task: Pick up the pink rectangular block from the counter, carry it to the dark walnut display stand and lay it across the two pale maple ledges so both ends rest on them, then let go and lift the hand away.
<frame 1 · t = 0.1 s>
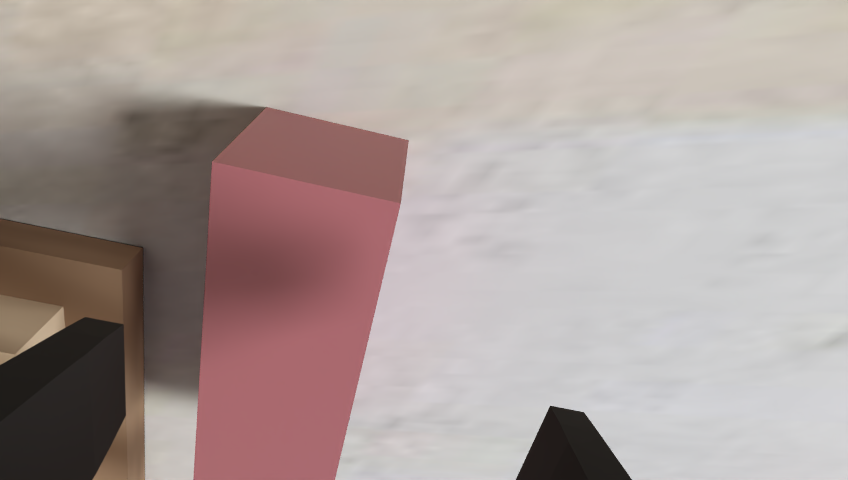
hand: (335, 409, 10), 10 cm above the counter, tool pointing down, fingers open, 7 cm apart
pink rectangular block: (313, 278, 20), on the counter
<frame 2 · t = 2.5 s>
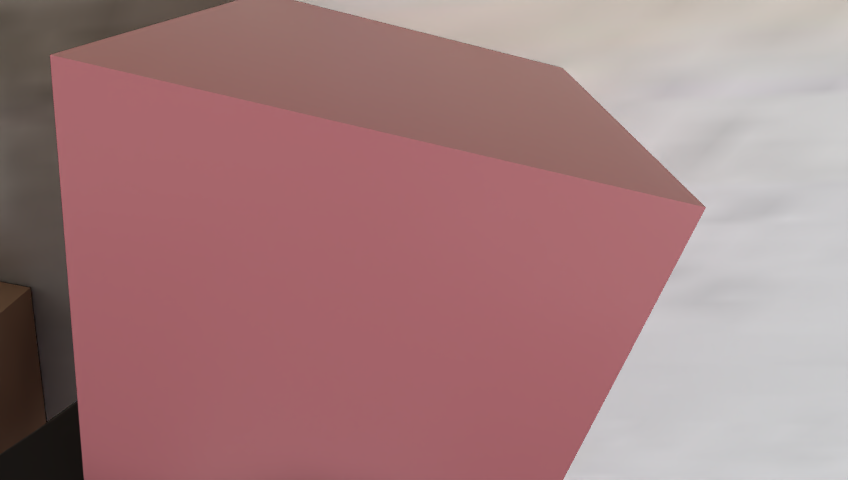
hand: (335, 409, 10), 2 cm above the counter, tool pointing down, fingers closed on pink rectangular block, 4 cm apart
pink rectangular block: (348, 346, 11), on the counter, touching gripper
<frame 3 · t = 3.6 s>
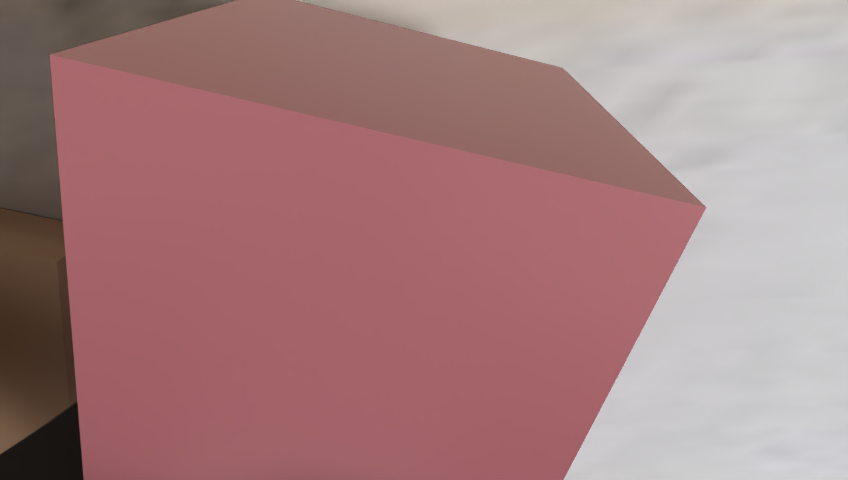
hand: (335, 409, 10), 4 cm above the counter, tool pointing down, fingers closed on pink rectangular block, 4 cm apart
pink rectangular block: (348, 346, 11), point 2 cm above the counter, touching gripper
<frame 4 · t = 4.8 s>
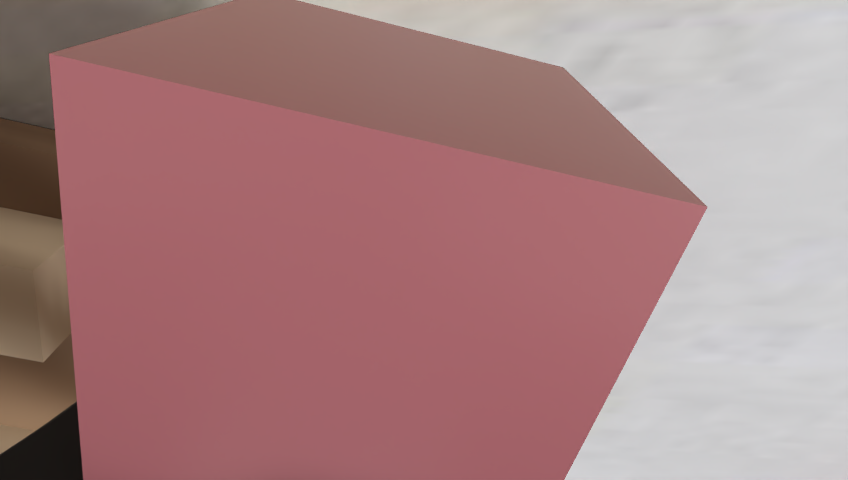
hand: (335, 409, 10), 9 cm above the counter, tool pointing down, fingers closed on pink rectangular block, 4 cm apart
pink rectangular block: (348, 346, 11), point 7 cm above the counter, touching gripper
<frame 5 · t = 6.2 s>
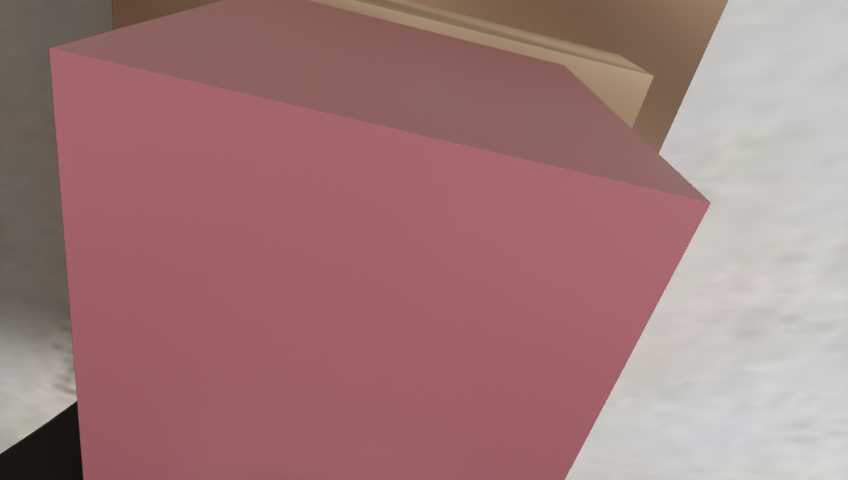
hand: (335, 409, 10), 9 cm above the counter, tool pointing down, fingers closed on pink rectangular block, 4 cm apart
stand: (375, 203, 17), on the counter
pink rectangular block: (349, 344, 11), point 7 cm above the counter, touching gripper
when the fingers open (7 cm above the counter, at t = 7.5 s): pink rectangular block drops 1 cm, resting on stand.
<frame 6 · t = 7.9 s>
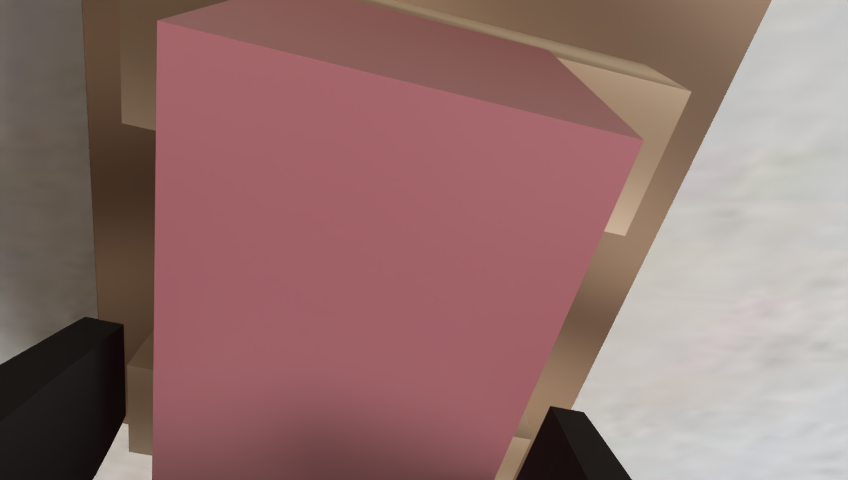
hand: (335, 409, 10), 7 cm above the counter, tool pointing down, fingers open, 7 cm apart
stand: (374, 224, 16), on the counter
pink rectangular block: (358, 302, 12), point 4 cm above the counter, touching stand
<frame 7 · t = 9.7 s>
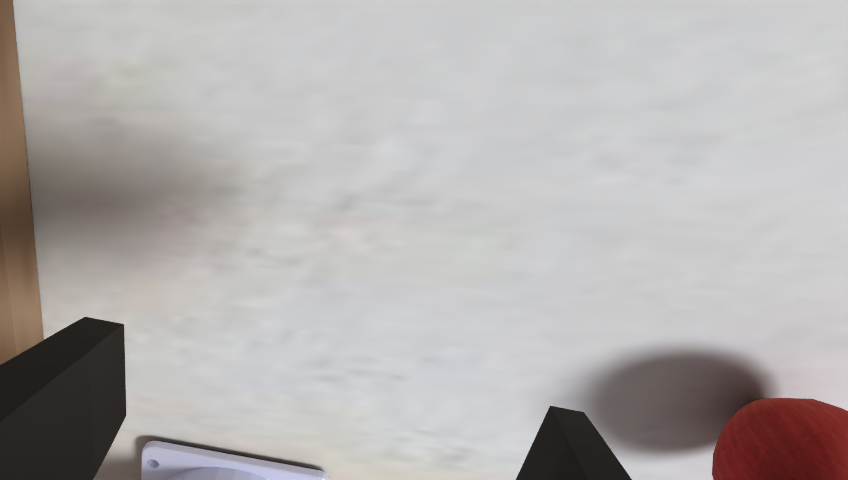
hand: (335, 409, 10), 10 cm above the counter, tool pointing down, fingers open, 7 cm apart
onion: (751, 403, 23), on the counter
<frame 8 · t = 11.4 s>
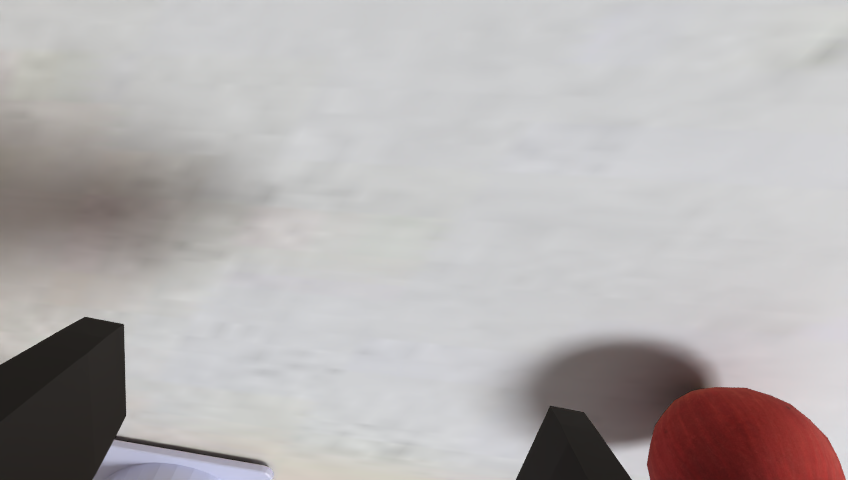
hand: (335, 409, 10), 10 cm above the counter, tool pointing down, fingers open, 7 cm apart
onion: (693, 393, 23), on the counter
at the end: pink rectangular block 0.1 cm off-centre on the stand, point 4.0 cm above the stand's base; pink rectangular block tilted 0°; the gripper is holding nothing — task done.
